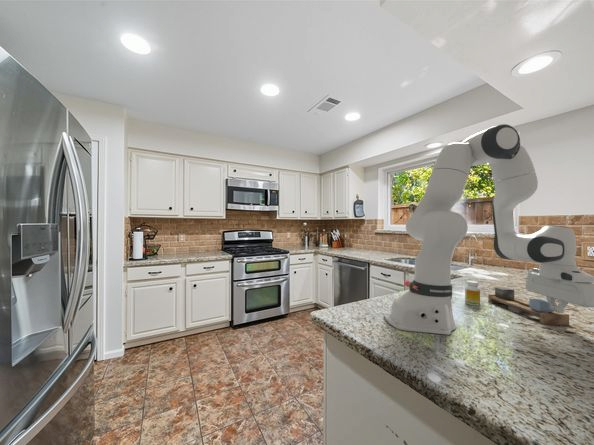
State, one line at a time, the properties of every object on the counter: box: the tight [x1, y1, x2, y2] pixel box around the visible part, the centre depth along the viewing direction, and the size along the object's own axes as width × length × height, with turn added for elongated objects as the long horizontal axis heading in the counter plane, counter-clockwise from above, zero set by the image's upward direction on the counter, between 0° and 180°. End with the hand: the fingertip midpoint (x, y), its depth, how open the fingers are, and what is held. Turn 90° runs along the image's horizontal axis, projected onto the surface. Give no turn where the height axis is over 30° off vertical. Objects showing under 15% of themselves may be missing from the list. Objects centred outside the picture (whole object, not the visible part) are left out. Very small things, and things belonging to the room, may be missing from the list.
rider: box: [528, 298, 554, 313], centre depth 90 cm, size 5×4×4 cm
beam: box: [487, 286, 570, 326], centre depth 97 cm, size 9×24×7 cm, turn 0°
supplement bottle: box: [464, 280, 481, 307], centre depth 106 cm, size 5×5×10 cm
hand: (556, 311), depth 84 cm, fingers closed
